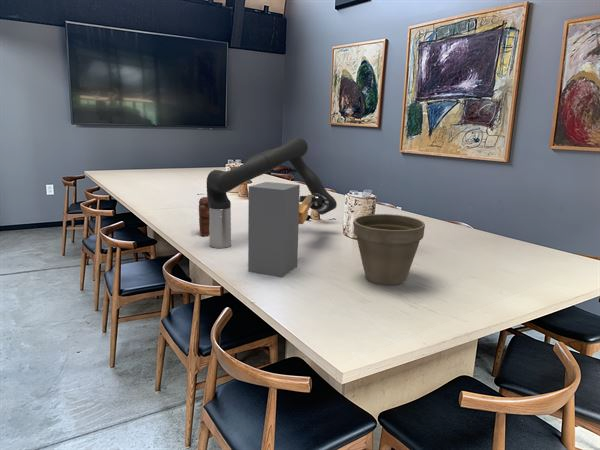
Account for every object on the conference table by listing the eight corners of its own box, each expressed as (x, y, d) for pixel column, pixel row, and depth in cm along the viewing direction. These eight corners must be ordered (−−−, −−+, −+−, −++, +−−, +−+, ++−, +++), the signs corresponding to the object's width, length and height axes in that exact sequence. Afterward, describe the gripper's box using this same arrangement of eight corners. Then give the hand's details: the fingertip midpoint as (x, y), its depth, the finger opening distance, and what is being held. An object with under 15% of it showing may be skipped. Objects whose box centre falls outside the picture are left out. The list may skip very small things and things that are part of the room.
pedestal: (248, 271, 173) (248, 186, 166) (265, 261, 186) (266, 181, 179) (282, 277, 168) (284, 189, 161) (297, 266, 181) (299, 184, 174)
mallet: (288, 222, 183) (287, 211, 181) (304, 199, 201) (304, 188, 199) (302, 224, 181) (302, 212, 179) (317, 201, 200) (317, 190, 197)
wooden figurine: (214, 236, 221) (213, 199, 217) (200, 237, 219) (199, 199, 215) (211, 230, 232) (211, 194, 228) (198, 231, 230) (197, 195, 226)
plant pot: (366, 293, 155) (370, 230, 150) (341, 269, 179) (343, 214, 174) (432, 288, 162) (439, 227, 157) (399, 266, 185) (404, 212, 180)
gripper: (304, 192, 214) (293, 188, 198) (333, 195, 210) (325, 191, 194) (302, 208, 214) (291, 205, 198) (331, 212, 210) (323, 209, 194)
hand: (308, 198), depth 196 cm, fingers closed on mallet, 3 cm apart
